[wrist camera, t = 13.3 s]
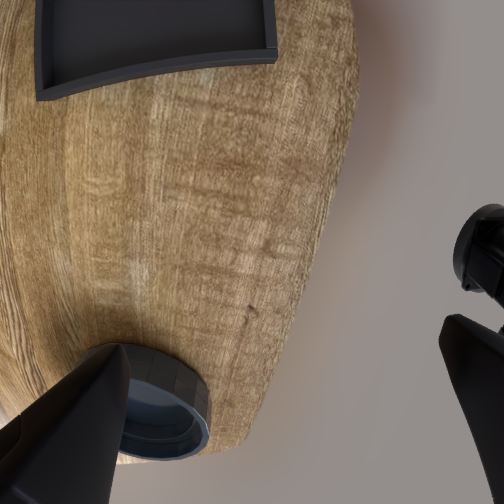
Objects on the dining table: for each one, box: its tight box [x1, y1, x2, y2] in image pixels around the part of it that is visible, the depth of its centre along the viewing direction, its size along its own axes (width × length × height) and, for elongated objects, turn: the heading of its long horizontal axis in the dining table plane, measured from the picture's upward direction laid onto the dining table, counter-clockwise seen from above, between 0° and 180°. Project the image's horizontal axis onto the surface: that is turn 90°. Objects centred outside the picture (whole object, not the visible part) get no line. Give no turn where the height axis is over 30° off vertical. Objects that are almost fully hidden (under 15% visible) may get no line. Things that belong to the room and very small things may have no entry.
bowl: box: [73, 343, 212, 461], centre depth 25 cm, size 13×13×4 cm
